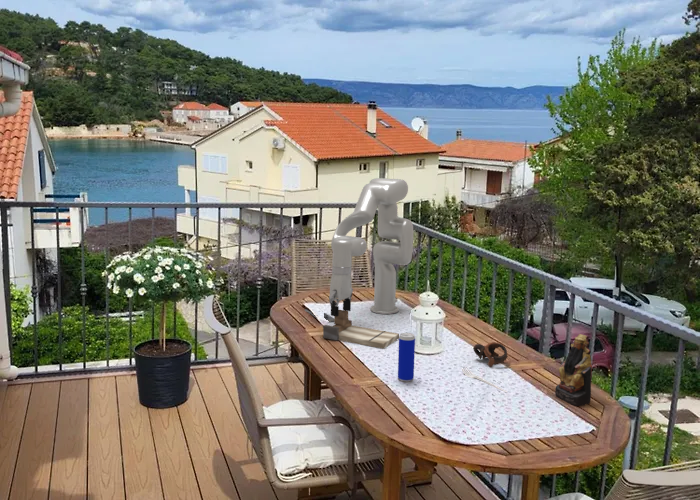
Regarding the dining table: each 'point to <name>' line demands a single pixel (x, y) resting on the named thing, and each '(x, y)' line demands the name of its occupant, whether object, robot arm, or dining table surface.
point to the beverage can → (406, 357)
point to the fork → (479, 378)
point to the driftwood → (324, 316)
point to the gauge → (337, 326)
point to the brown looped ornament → (491, 353)
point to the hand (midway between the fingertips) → (340, 313)
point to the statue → (576, 374)
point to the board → (368, 336)
